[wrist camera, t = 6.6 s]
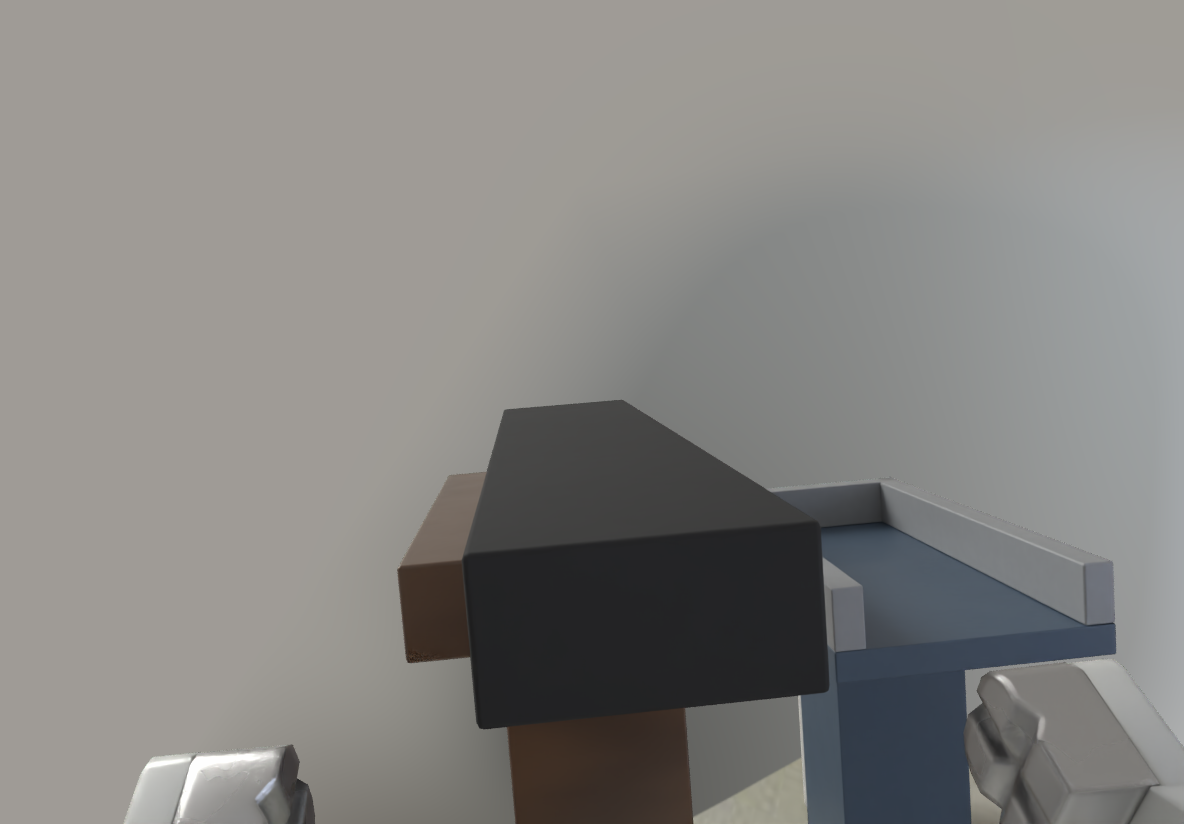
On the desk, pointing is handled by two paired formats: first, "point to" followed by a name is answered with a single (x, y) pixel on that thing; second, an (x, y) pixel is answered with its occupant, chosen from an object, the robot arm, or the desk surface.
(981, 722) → the robot arm
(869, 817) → the pad mount
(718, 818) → the desk surface
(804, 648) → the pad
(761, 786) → the desk surface
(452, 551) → the pad stand
